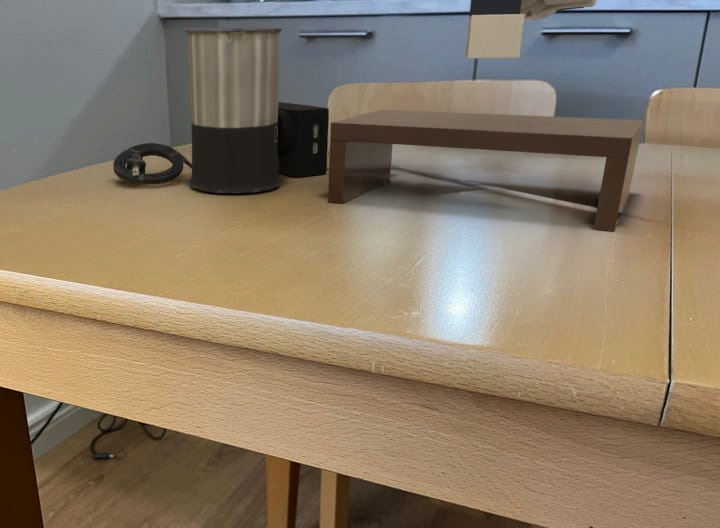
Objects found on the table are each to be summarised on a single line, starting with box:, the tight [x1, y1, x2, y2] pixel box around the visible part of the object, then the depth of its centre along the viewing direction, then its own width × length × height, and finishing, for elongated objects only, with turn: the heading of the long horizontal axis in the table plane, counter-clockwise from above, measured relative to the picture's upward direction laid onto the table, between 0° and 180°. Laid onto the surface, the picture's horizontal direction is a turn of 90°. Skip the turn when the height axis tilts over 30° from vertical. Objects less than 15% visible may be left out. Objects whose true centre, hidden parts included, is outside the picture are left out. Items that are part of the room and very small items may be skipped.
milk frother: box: [112, 26, 283, 195], centre depth 74 cm, size 14×16×15 cm
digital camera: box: [277, 101, 330, 178], centre depth 84 cm, size 10×5×7 cm, turn 31°
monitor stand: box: [327, 109, 644, 232], centre depth 67 cm, size 13×24×7 cm, turn 61°
